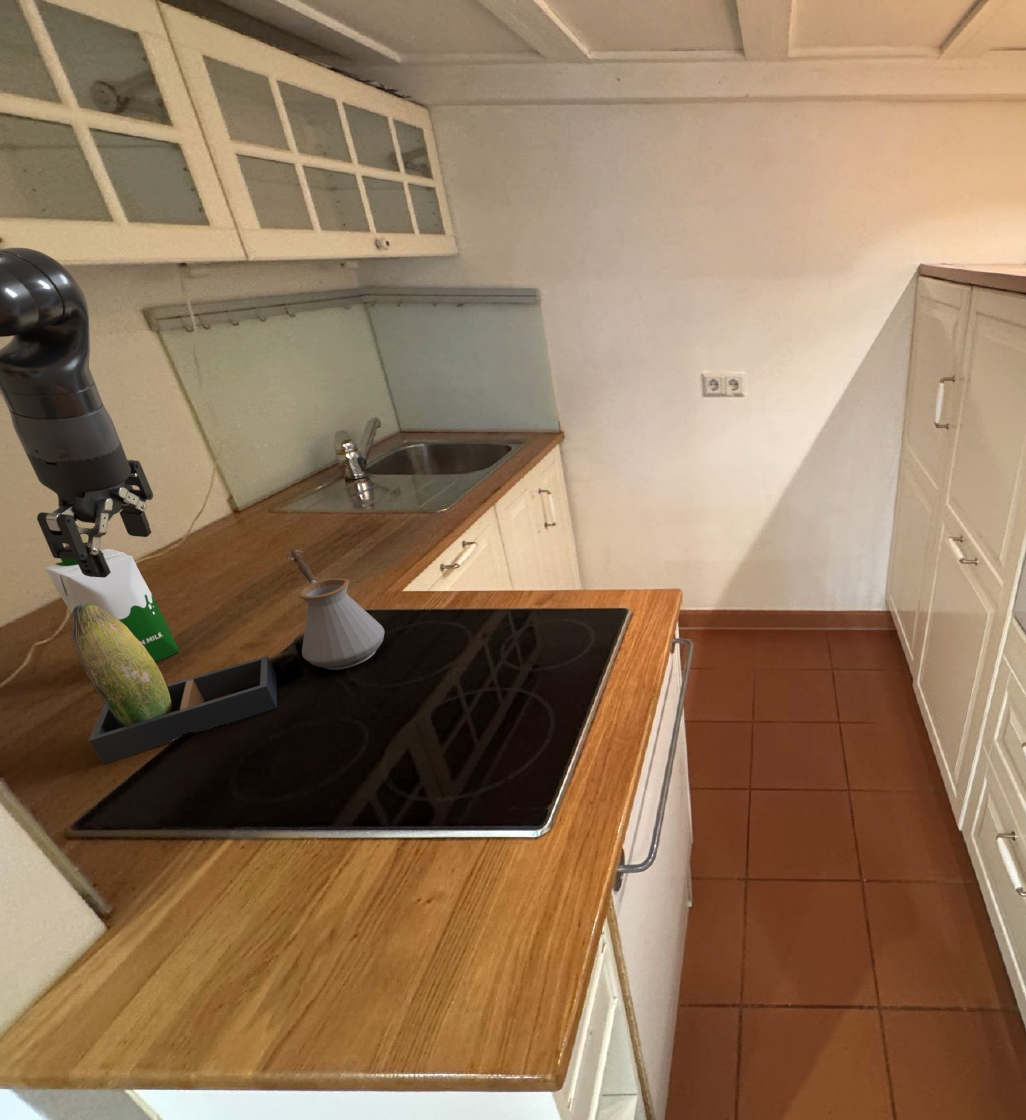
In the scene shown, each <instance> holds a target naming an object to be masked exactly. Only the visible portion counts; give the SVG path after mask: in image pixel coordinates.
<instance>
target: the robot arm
mask: <svg viewBox="0 0 1026 1120" xmlns="http://www.w3.org/2000/svg"><path fill="white" fill-rule="evenodd" d="M6 337H12V338H11V340H10V341H9V342H8V343H7V344H5V346H3V347H2V348H0V394H1V396H2V398H3V401H4V403H5V405H6V407H7V409H8V412H9V415H10V418H11V423H12V426H13V430H14V432H15V434H16V435H17V438H18V440H19V442H20V444H21V447H22V448H23V451H24V453H25V455H26V456H27V459H28V461H29V463H30V465H31V467H32V469H33V472H34V473H35V475H36V478H37V480H38V481H39V483H40V484H41V485H43V487H46V488H47V489H48V490H50V491H52V492H53V493H55V494H56V495H57V501H58V502H57V503H58V508H57V509H55V510H54V511H52V512H43V511H41V512H39V513H38V514H37V516H36V520H37V523H38V525H39V528H40V529H41V532H42V534H43V536H44V539H45V541H46V543H47V546H48V548H49V551H50V553H51V555H52V557H53V558H54V559H60V560H61V559H62V558H63V559H76V561H77V563H78V565H79V567H80V569H81V572H82V573H83V574H84V575H86V576H89V577H102V578H105V577H107V576H108V575H109V574H110V573H111V572H110V569H109V567H108V565H107V563H106V560H105V558H104V556H103V554H102V550H101V549H100V547H101V538H102V537H103V536H106V535H107V532H108V525H109V521H110V520H111V519H112V518H113V516H114V515H116V514H118V513H119V515H120V518H121V520H122V523H123V525H124V528H125V530H126V533H127V534H128V535H129V536H131V537H140V538H147V537H149V536H150V535H151V534H152V530H151V527H150V523H149V519H148V518H147V515H146V511H147V509H148V507H147V506H148V505H147V503H146V502H147V501H151V500H153V498H154V493H153V490H152V488H151V486H150V483H149V480H148V478H147V476H146V473H145V471H144V469H143V466H142V464H141V461H139V460H135V459H128V458H127V455H126V453H125V449H124V447H123V444H122V442H121V440H120V437H119V434H118V432H117V428H116V426H115V424H114V422H113V419H112V416H111V415H110V413H109V412H108V410H107V408H106V407H105V404H104V403H103V402H104V401H102V398H101V396H100V395H101V394H100V392H99V389H98V387H97V385H96V382H95V379H94V376H93V374H92V372H91V369H90V356H91V344H90V342H91V339H90V338H91V337H90V316H89V307H88V302H87V298H86V296H85V294H84V291H83V289H82V288H81V286H80V284H79V283H78V281H77V280H76V278H75V277H74V276H73V275H72V274H71V272H70V271H69V270H68V269H67V268H66V267H65V266H64V265H62V263H60V262H59V261H57V260H56V259H55V258H53V257H51V256H49V255H47V254H46V253H44V252H41V251H39V250H36V249H32V248H29V247H28V248H27V247H8V248H7V247H6V248H0V338H6ZM133 486H135V487H138V489H134V487H133ZM78 521H79V522H82V523H86V524H87V523H89V524H94V526H93V527H81V526H79V524H80V523H79V522H78ZM81 535H86V536H87V542H88V544H84V543H85V542H84V541H83V537H82V536H81ZM64 544H65V546H64Z"/></svg>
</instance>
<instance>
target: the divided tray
mask: <svg viewBox="0 0 1026 1120" xmlns="http://www.w3.org/2000/svg"><path fill="white" fill-rule="evenodd" d="M166 685H167V688H168V691H169V694H170V698H171V702H172V708H171V713H168V714H165V715H162V716H159V717H155V718H152V719H149V720H146V721H142V722H139V723H136V724H132V725H129V726H126V727H125V726H124V725H123V724H122V723H120V722H119V720H118V719H117V718H116V717H115V716H114V714H113V713H112V712H111V710H110V709H109V707H108V706H107V704H106V703H105V702H104V703H103V705H102V708H101V710H100V712H99V715H98V718H97V719H96V722H95V725H94V727H93V728H92V729H93V730H92V732H91V734H90V737H89V738H88V742H89V744H90V745H91V747H92V748H93V750H94V751H95V754H97V756H98V758H99V759H100V761H101V762H102V764H103V765H106V764H105V763H107V764H109V763H112V762H116V761H118V760H121V759H125V758H128V757H131V756H133V755H137V754H141V753H143V752H147V751H150V750H152V748H153V749H156V748H159V747H162V746H165V745H166V744H165V743H168V742H170V741H172V740H173V739H176V738H178V737H179V736H181V735H183V734H186V733H188V732H196V731H200V730H204V729H208V728H214V727H217V726H219V725H223V724H226V725H229V724H232V723H235V722H239V721H242V720H245V719H248V718H251V717H254V716H257V715H261V714H263V713H266V712H269V711H272V710H275V709H278V675H277V673H276V671H275V668H274V667H273V665H272V662H271V660H270V658H269V656H268V655H265V656H261V657H258V658H253V659H251V660H247V661H244V662H240V663H237V664H234V665H230V666H227V667H223V668H220V669H216V670H213V671H212V670H211V671H209V672H205V673H202V674H199V675H195V676H192V677H188V678H184V679H181V680H178V681H174V682H171V683H166ZM254 685H255V686H254ZM251 686H252V687H251ZM241 689H242V690H241ZM238 720H239V721H238ZM234 721H235V722H234ZM231 722H232V723H231ZM223 726H224V725H223ZM217 728H218V727H217ZM214 729H215V728H214ZM164 744H165V745H164ZM168 744H169V743H168ZM161 745H162V746H161ZM158 746H159V747H158ZM155 747H156V748H155Z"/></svg>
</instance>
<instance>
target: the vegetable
mask: <svg viewBox="0 0 1026 1120" xmlns="http://www.w3.org/2000/svg"><path fill="white" fill-rule="evenodd" d="M71 617H72V618H71V619H72V623H71V624H72V625H71V633H70V634H71V635H70V636H71V642H72V645H73V648H74V652H75V654H76V655H77V657H78V659H79V661H80V663H81V665H82V668H83V669H84V671H85V673H86V675H87V678H88V679H89V681H90V683H91V685H92V686H93V689H94V690H95V691H96V693H97V694H98V695H99V696H100V698H101V699H102V700H103V702H104V703H106V704H107V706H108V707H109V709H110V710H111V712H112V713H113V714H114V716H115V717H116V718H117V719H118V720H119V722H120V723H122V724H123V725H124V727H126V726H129V725H132V724H136V723H139V722H142V721H146V720H149V719H152V718H155V717H159V716H162V715H165V714H168V713H172V711H171V708H172V702H171V698H170V694H169V691H168V688H167V683H166V680H165V679H164V676H163V674H162V671H161V669H160V668H159V666H158V665H157V662H156V663H155V661H154V660H153V658H152V657H151V656H150V654H149V653H148V652H147V650H146V648H145V647H144V646H143V645H142V643H141V642H140V641H139V640H138V639H137V638H136V637H135V636H134V635H133V634H132V632H131V631H130V630H129V629H128V628H127V627H126V626H125V625H124V624H123V623H122V622H121V621H119V620H118V619H116V618H115V617H113V616H111V615H110V614H108V613H107V612H105V611H104V610H102V609H101V608H100V607H99V606H97V605H95V604H92V603H81V604H79V605H78V606H76V607H75V608H74V609H73V612H72V614H71Z"/></svg>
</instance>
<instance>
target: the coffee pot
mask: <svg viewBox="0 0 1026 1120" xmlns="http://www.w3.org/2000/svg"><path fill="white" fill-rule="evenodd" d="M299 552H300V553H301V555H299ZM289 555H291V556H292V557H293V558H290V557H289ZM303 555H304V553H303V551H302V550H295V549H291V550H290V552H288V553H287V554H286V558H287V559H288V560H289V561H290V560H291V561H294V563H296V564H297V567H298V569H299V571H300V572H301V573H302V575H303V576H304V577H305V578H306V580H307V581H308V582H309V584H308V585H306V586H305V587H303V588H302V589H300V590H299V593H298V596H299V598H301V599H302V600H304V601H306V603H307V607H308V608H307V612H306V620H305V626H304V632H303V633H304V634H303V641H302V646H301V647H302V648H301V654H302V658H303V659H304V660H305V661H307V663H310V664H311V665H312V666H316V667H320V668H324V669H326V670H337V671H338V670H344V669H349V668H352V667H355V666H357V665H360V664H362V663H364V662H366V661H367V660H369V659H371V658H372V657H373V656H374V655H375V654H376V652H377V650H378V649H379V648H380V646H381V645H382V644H383V642H384V637H385V631H386V630H385V629H384V627H383V625H381V623H379V622H378V621H377V620H376V619H375V618H374V617H373V616H372V615H371V614H370V613H368V612H367V611H366V610H365V609H364V608H363V606H361V605H360V604H359V603H357V602H356V601H355V600H354V599H353V598H352V597H351V596H350V595H349V594H347V592H348V587H349V584H350V579H347V578H341V577H340V578H335V577H334V578H327V579H323V580H318V581H317V580H316V578H315V576H314V574H313V572H312V571H311V568H310V567H309V565H308V564H307V563H306V562H305V561H304V560H303V557H302V556H303Z"/></svg>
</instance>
